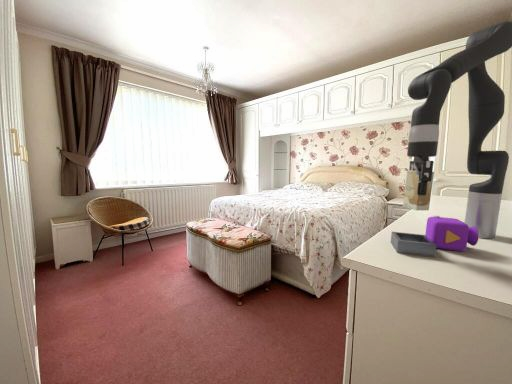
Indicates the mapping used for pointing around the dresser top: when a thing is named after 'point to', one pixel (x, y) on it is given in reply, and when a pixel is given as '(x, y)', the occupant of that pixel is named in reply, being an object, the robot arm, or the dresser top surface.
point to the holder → (413, 244)
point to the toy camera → (450, 233)
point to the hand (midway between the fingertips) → (417, 193)
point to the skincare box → (411, 193)
